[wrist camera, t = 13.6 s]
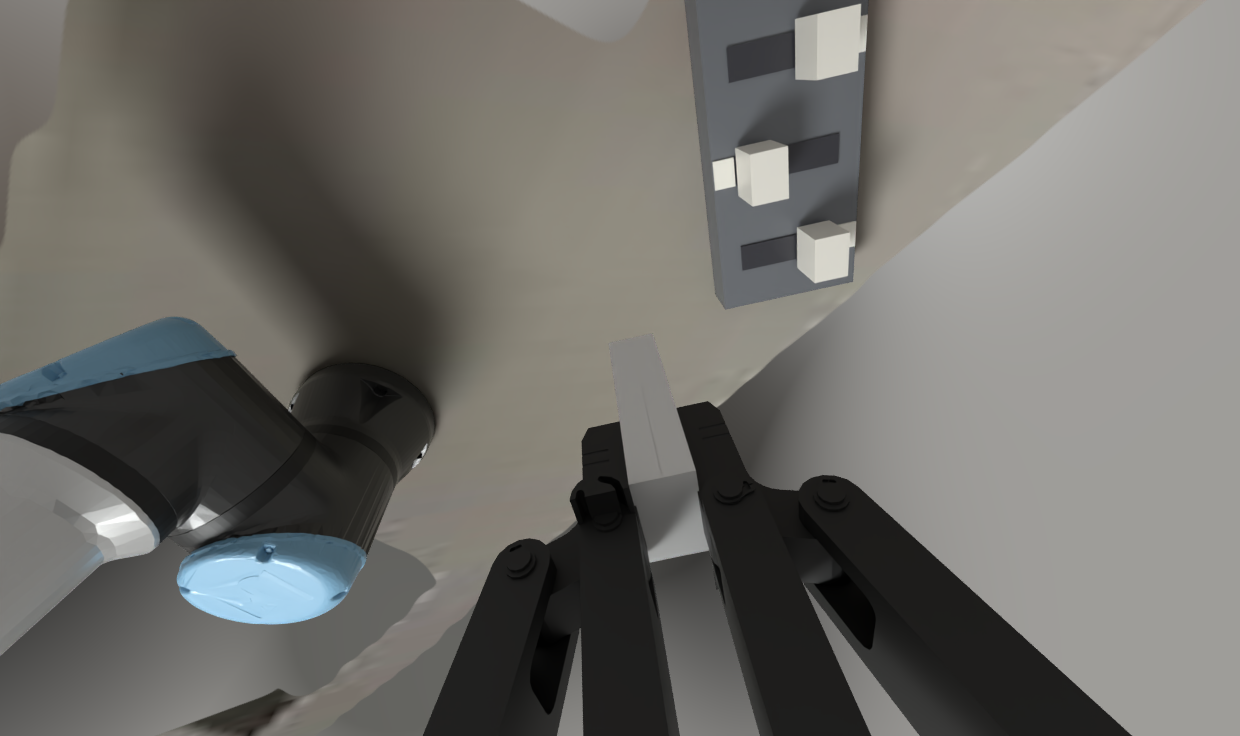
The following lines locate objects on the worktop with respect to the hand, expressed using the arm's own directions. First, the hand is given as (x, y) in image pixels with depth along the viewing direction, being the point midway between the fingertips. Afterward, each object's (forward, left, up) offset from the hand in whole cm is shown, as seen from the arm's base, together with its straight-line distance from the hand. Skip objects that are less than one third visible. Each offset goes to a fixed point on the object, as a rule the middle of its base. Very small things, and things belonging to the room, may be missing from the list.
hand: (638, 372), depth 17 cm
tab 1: (+13, -1, -30) cm, 33 cm away
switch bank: (+16, -1, -34) cm, 38 cm away
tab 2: (+19, +7, -30) cm, 36 cm away
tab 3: (+19, -9, -30) cm, 36 cm away
